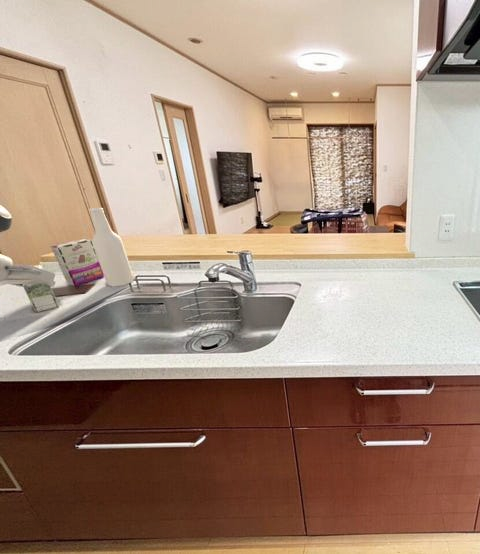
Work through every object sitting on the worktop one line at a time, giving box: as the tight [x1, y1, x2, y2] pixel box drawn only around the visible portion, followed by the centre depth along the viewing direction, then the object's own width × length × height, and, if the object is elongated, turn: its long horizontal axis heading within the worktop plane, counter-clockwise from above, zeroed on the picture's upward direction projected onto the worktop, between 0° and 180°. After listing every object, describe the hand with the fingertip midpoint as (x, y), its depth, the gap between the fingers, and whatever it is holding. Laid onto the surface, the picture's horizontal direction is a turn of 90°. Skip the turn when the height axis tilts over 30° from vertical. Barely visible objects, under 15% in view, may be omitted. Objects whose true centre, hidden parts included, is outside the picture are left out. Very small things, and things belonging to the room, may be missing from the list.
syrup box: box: [22, 264, 60, 313], centre depth 98 cm, size 6×6×14 cm
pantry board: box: [51, 282, 96, 298], centre depth 112 cm, size 14×9×1 cm, turn 112°
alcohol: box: [88, 207, 135, 287], centre depth 115 cm, size 9×9×30 cm
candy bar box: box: [50, 238, 105, 286], centre depth 119 cm, size 11×5×16 cm, turn 163°
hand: (38, 284), depth 98 cm, fingers closed on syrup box, 8 cm apart
